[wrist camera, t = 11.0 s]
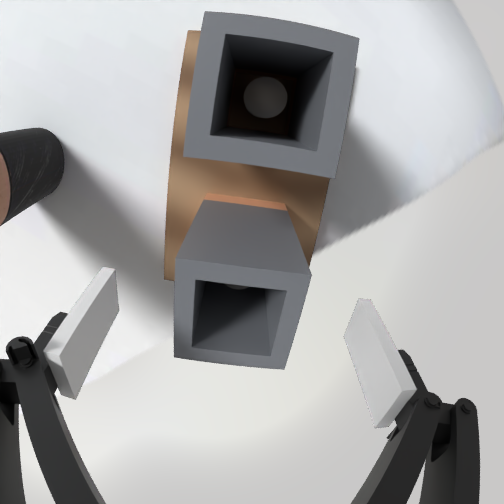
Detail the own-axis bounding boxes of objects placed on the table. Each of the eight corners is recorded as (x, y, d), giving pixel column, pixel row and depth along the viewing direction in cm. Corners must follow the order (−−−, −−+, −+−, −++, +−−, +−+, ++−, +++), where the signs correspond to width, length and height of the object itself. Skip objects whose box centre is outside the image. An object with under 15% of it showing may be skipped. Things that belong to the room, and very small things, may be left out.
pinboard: (190, 33, 20) (166, 2, 13) (347, 58, 21) (386, 39, 14) (166, 273, 29) (143, 325, 22) (299, 289, 30) (314, 345, 23)
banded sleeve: (206, 192, 25) (175, 257, 14) (284, 203, 26) (311, 275, 15) (200, 262, 28) (173, 357, 17) (271, 271, 28) (284, 369, 17)
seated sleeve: (225, 58, 20) (204, 11, 10) (307, 71, 21) (359, 38, 10) (213, 136, 23) (182, 156, 12) (294, 148, 24) (334, 179, 13)
